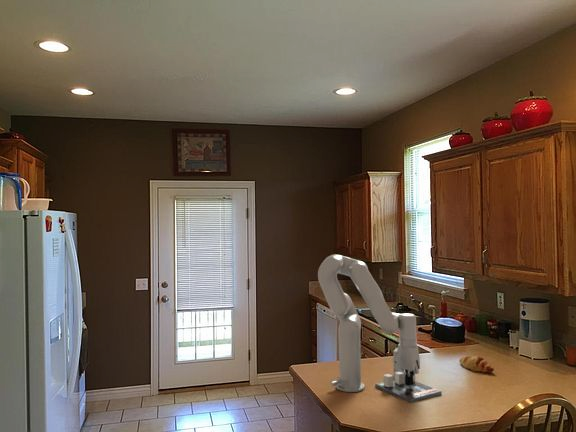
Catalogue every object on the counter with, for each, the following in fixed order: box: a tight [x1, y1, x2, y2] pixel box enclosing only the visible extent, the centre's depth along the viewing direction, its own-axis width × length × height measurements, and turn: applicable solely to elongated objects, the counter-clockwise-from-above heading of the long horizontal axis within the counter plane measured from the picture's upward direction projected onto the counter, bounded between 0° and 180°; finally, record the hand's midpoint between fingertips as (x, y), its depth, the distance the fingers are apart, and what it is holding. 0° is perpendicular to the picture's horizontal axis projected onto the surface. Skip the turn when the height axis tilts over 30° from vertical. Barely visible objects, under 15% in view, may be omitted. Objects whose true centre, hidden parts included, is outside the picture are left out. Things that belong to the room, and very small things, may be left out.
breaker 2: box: [394, 372, 404, 385], centre depth 212 cm, size 3×3×4 cm
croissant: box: [459, 355, 495, 373], centre depth 238 cm, size 21×10×8 cm, turn 27°
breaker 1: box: [382, 373, 394, 387], centre depth 209 cm, size 3×3×4 cm
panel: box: [374, 377, 442, 404], centre depth 208 cm, size 18×22×2 cm
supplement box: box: [392, 347, 405, 378], centre depth 227 cm, size 7×7×13 cm
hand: (409, 384), depth 207 cm, fingers closed
